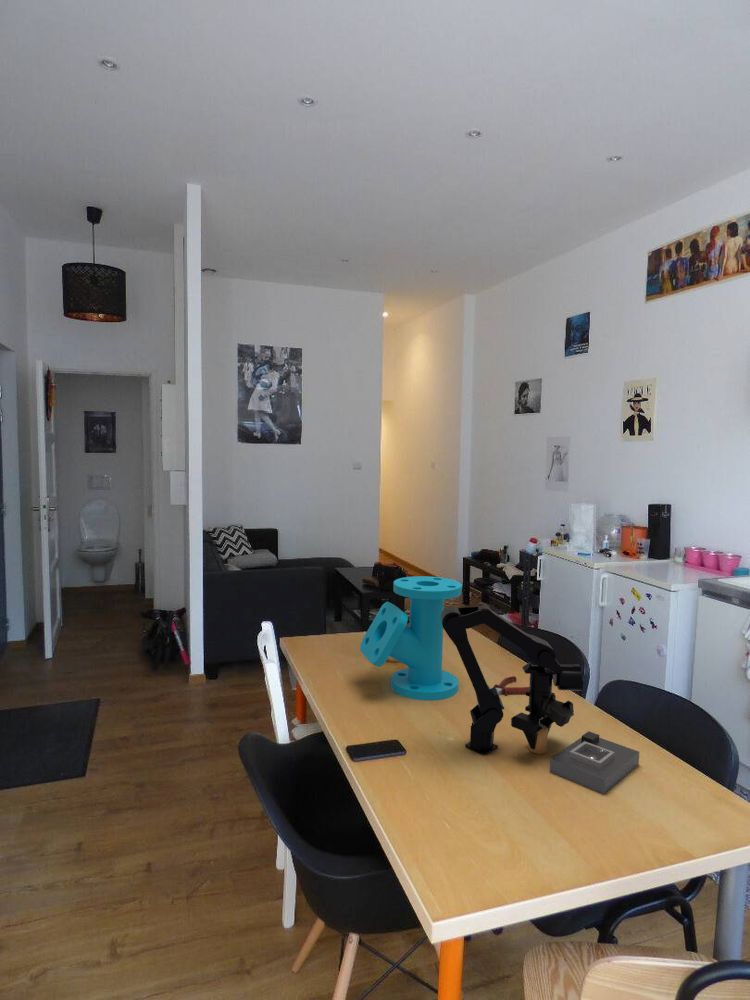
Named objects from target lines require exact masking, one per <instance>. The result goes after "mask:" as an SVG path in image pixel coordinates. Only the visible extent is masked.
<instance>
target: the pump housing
mask: <svg viewBox="0 0 750 1000" xmlns="http://www.w3.org/2000/svg"><path fill="white" fill-rule="evenodd" d="M539 726H540V727H542V728H543V729H541V730H540V731H538V735H537V741H536V746H535V749H531V748H530V745H529V744H528V748H527V749H528V751H529V752H532V753H534V754H538V755H543V754H545V753H547V752H548V738H549V736H548V735H549V733H548V728H547V727H546V726H544V725H543V724H541V723H539Z"/></svg>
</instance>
